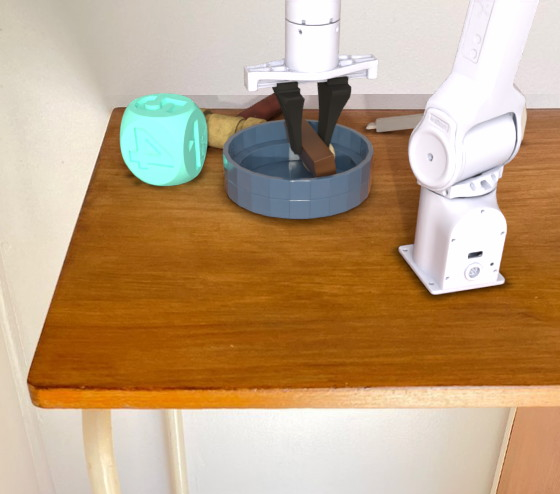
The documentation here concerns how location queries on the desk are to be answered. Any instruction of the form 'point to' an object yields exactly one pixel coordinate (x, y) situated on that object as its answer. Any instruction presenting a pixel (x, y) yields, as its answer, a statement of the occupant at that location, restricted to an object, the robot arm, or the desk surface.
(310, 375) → the desk surface
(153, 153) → the decorative dice
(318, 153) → the rectangular block
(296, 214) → the bowl
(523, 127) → the caliper
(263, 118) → the gavel
